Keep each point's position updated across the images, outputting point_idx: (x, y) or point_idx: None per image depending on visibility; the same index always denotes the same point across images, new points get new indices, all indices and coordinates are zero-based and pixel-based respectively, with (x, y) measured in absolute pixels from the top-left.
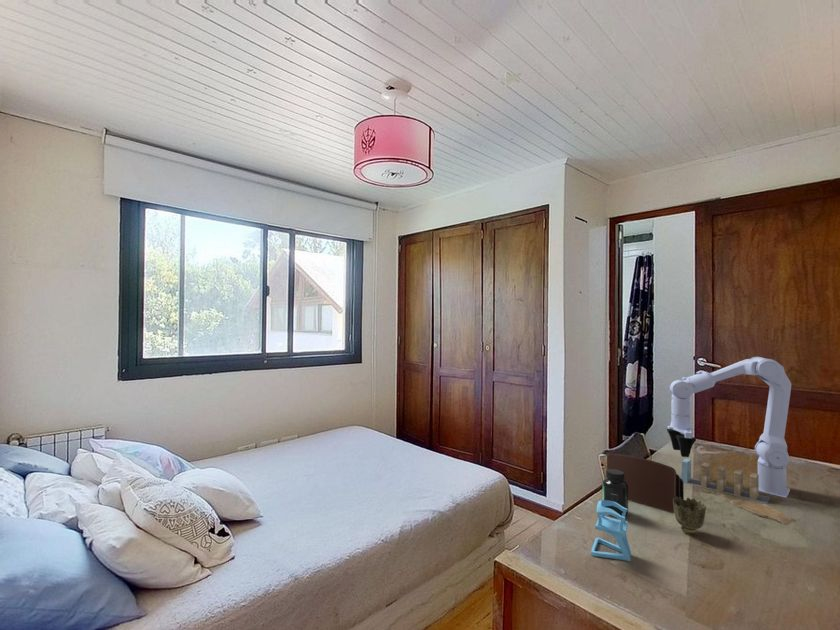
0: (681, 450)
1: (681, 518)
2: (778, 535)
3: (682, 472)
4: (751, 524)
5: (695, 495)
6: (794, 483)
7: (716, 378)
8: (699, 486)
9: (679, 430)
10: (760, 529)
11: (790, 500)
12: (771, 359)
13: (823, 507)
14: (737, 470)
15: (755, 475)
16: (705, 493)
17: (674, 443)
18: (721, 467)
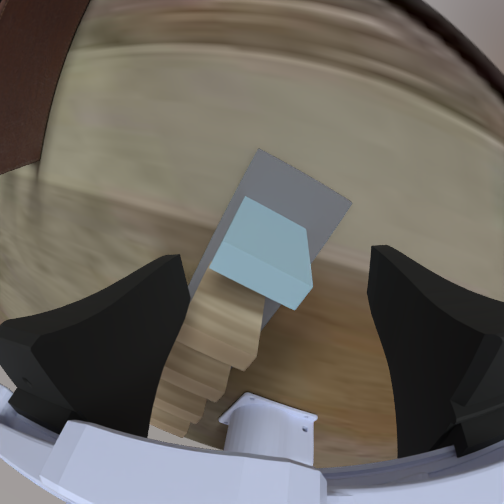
0: (127, 278)
1: None
2: (17, 308)
3: (236, 214)
4: (25, 286)
5: (114, 212)
6: (334, 450)
7: None
8: (205, 254)
9: (3, 447)
10: (18, 292)
11: (213, 419)
12: None
13: (201, 438)
14: (187, 413)
15: (160, 426)
16: (152, 254)
17: (392, 285)
18: (198, 388)
